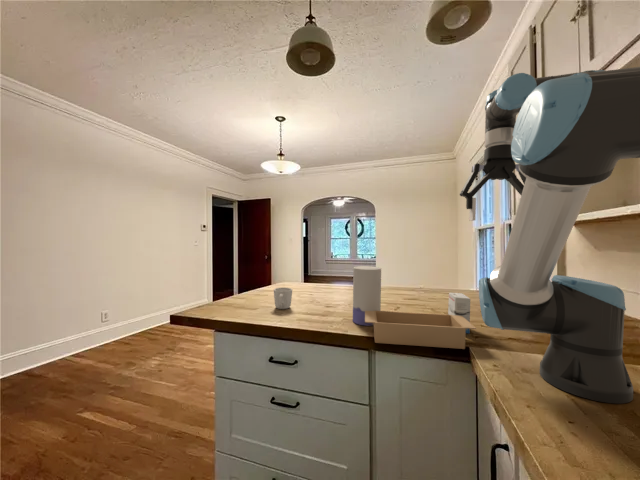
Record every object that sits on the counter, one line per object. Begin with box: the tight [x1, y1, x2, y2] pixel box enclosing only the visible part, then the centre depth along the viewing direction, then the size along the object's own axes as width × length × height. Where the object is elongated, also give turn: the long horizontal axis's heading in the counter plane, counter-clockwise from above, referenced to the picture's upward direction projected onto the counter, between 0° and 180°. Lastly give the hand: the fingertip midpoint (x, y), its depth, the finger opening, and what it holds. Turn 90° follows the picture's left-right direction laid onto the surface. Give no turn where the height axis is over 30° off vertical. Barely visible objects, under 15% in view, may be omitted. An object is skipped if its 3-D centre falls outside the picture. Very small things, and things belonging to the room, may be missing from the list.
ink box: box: [447, 292, 471, 334], centre depth 98 cm, size 8×5×12 cm, turn 170°
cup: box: [273, 287, 293, 310], centre depth 121 cm, size 11×8×8 cm
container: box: [352, 265, 382, 327], centre depth 105 cm, size 10×10×20 cm
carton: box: [365, 310, 477, 350], centre depth 90 cm, size 13×31×6 cm, turn 81°
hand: (497, 220), depth 84 cm, fingers open, 13 cm apart
